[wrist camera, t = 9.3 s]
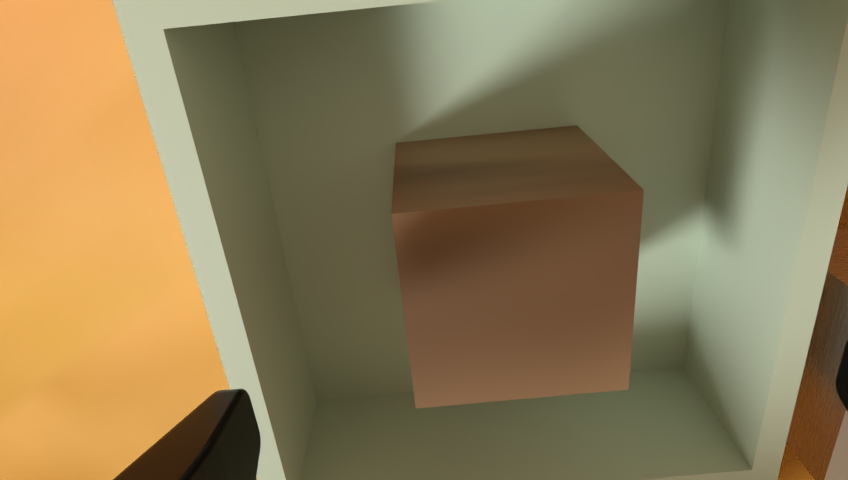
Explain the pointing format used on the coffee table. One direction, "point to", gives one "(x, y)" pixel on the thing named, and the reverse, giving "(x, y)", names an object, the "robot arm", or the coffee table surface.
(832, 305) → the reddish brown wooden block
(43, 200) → the coffee table surface
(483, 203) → the walnut block
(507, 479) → the bin
